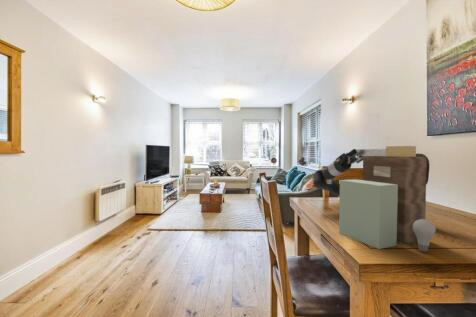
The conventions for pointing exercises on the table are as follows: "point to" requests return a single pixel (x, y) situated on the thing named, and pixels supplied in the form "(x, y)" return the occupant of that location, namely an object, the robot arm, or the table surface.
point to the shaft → (389, 151)
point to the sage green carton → (369, 212)
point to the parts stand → (401, 188)
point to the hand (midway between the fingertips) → (362, 150)
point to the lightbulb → (423, 233)
